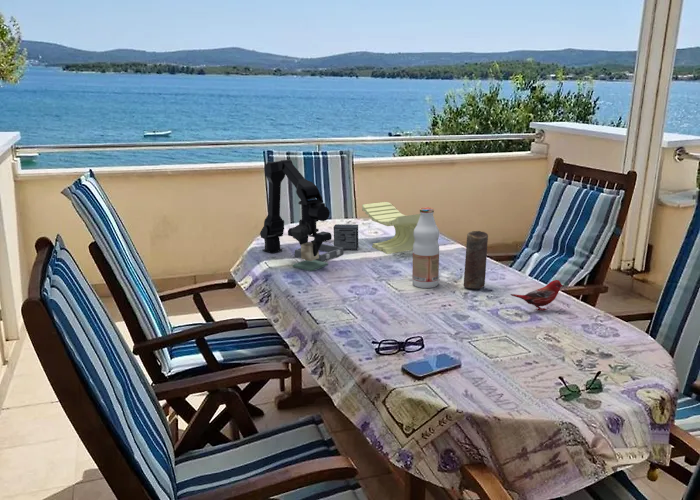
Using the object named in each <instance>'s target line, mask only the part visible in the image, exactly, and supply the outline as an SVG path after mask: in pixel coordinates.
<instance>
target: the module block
mask: <svg viewBox="0 0 700 500" xmlns="http://www.w3.org/2000/svg"><path fill="white" fill-rule="evenodd" d="M300 248H301V258H300V259H301V260H302V261H304V260H308V261H313V260H316V259H318V258H319V255H320V250H319V251H318V253H317V255H316V256H314V254H313V244H312V242H311V241H309V242H308V243H304V244H301V245H300Z"/></svg>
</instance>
